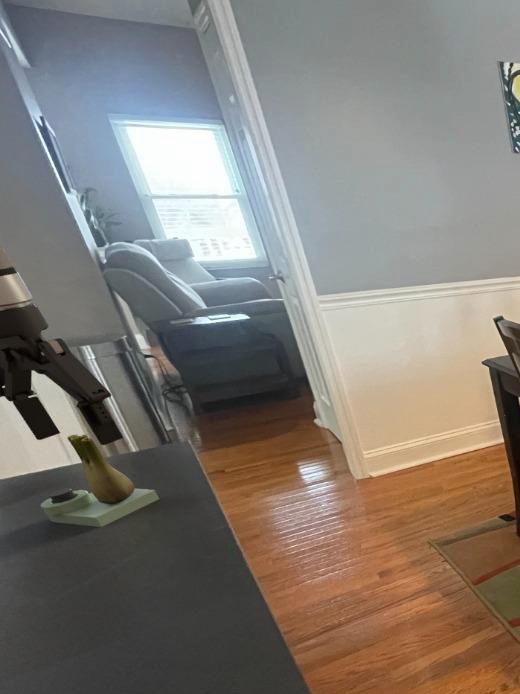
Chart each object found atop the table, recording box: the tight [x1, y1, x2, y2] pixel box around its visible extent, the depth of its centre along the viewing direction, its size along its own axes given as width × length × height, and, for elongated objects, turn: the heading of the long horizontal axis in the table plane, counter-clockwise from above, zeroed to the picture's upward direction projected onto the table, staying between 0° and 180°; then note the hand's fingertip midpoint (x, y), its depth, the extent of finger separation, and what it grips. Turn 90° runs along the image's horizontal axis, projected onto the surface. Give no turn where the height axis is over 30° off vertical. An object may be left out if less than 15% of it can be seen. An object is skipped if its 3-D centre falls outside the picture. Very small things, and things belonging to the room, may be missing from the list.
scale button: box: [48, 488, 76, 504], centre depth 99 cm, size 3×3×2 cm
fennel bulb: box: [67, 434, 135, 504], centre depth 99 cm, size 6×5×12 cm
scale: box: [40, 487, 160, 528], centre depth 101 cm, size 12×10×4 cm
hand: (80, 439), depth 96 cm, fingers open, 13 cm apart
